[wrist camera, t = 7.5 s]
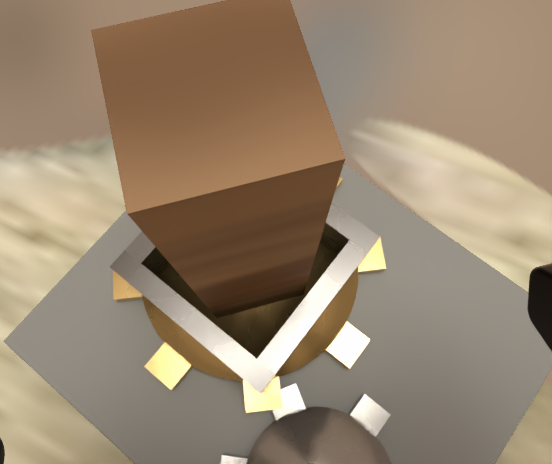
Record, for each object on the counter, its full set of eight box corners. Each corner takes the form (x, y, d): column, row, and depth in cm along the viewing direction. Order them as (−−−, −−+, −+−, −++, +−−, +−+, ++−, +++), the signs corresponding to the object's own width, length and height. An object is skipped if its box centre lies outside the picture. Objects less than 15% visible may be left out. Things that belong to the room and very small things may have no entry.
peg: (303, 294, 20) (345, 158, 8) (217, 318, 20) (127, 214, 8) (279, 213, 21) (285, -13, 9) (197, 235, 21) (91, 30, 9)
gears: (335, 649, 17) (347, 705, 14) (10, 347, 20) (-37, 340, 17) (538, 324, 20) (583, 313, 17) (233, 107, 23) (227, 66, 20)
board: (360, 662, 18) (365, 678, 17) (15, 343, 21) (3, 341, 20) (563, 329, 21) (577, 326, 20) (240, 101, 24) (239, 90, 23)
